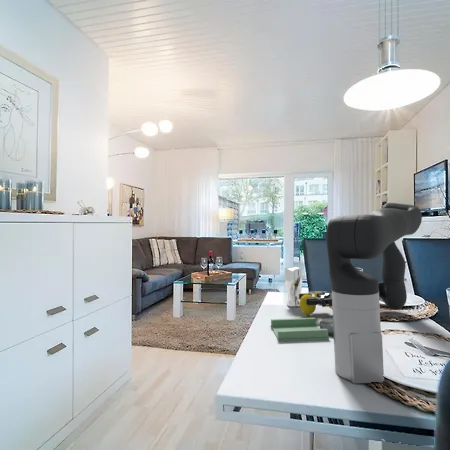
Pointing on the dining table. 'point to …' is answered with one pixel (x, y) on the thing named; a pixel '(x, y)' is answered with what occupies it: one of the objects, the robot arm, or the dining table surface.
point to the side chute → (298, 329)
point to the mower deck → (327, 325)
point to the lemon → (304, 307)
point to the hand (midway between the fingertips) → (302, 299)
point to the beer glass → (293, 286)
